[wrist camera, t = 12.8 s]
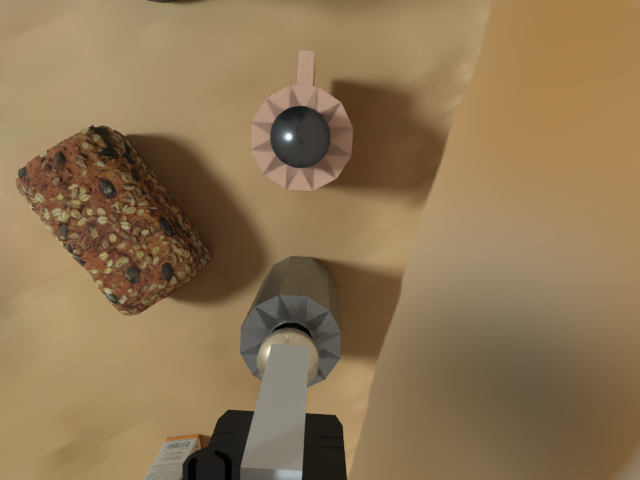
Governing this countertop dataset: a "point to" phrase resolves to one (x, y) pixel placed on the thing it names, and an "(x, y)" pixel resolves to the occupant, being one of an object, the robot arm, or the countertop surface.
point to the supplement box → (173, 458)
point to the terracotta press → (318, 101)
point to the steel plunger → (289, 337)
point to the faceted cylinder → (295, 311)
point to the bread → (114, 218)
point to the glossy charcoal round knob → (300, 137)
